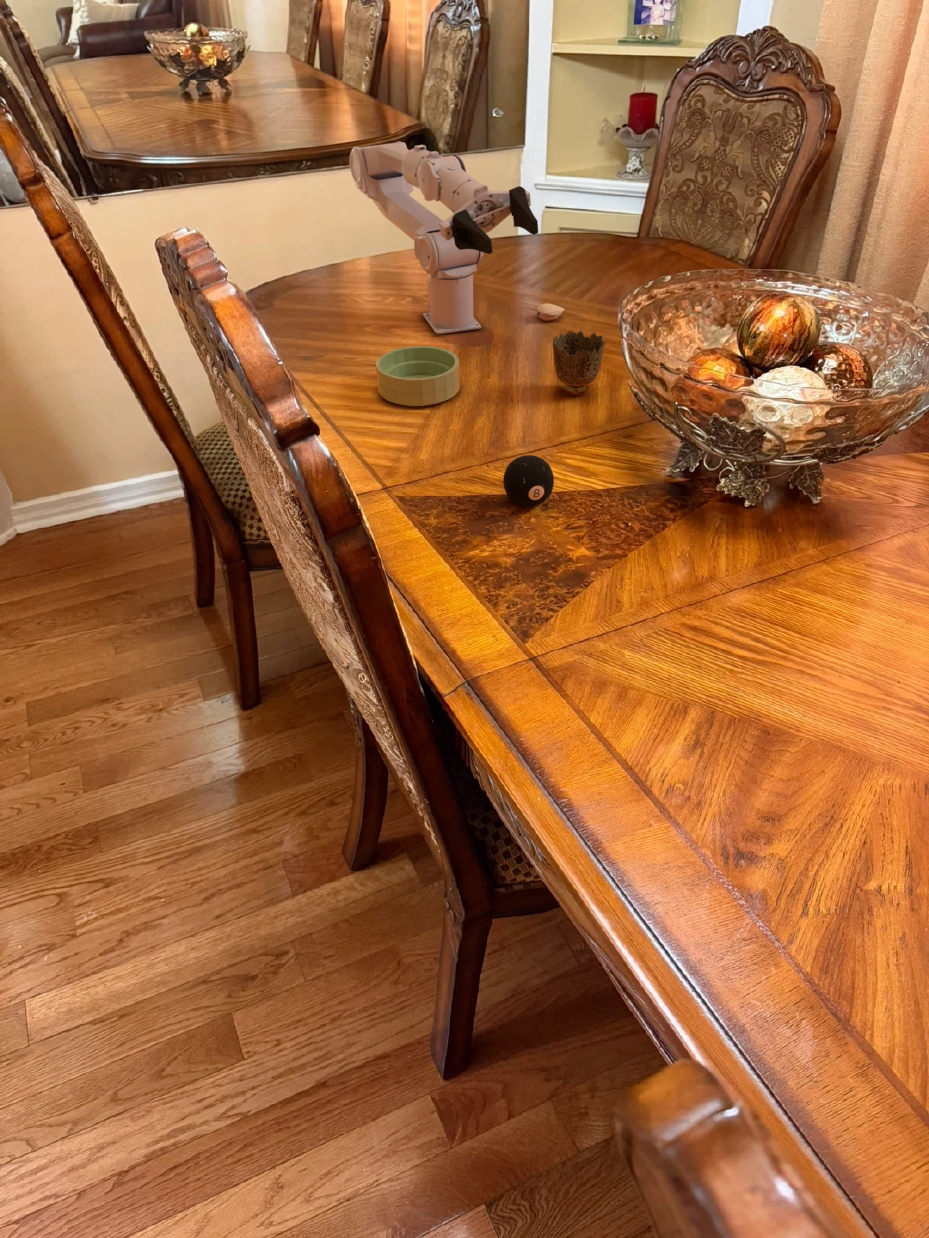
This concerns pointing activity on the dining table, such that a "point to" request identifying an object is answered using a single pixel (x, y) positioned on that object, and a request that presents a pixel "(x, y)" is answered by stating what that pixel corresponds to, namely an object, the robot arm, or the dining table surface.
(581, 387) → the cup
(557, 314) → the seashell
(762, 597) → the dining table surface
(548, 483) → the billiard ball
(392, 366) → the bowl
